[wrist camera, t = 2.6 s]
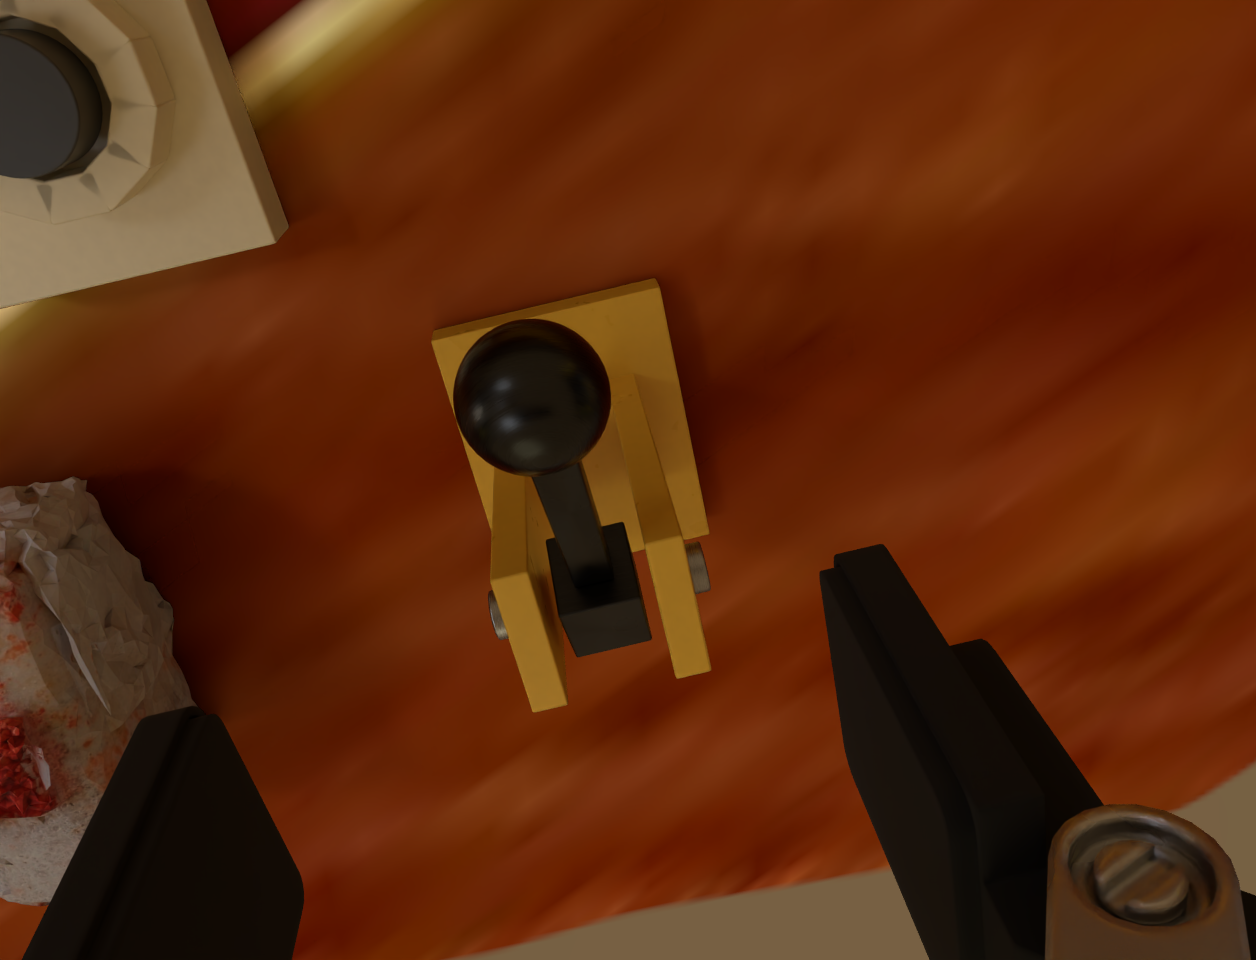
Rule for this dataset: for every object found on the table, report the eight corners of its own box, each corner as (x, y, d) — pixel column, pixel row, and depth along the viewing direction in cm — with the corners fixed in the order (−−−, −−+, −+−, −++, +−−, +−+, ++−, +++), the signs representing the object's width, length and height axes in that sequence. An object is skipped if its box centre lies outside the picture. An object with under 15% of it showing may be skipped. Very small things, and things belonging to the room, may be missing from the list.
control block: (-160, -81, 29) (-255, -87, 25) (150, -155, 29) (99, -172, 25) (25, 290, 34) (-32, 328, 30) (289, 227, 34) (264, 258, 30)
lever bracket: (433, 330, 36) (397, 499, 25) (655, 277, 36) (722, 422, 25) (507, 566, 41) (506, 801, 29) (704, 519, 41) (780, 736, 29)
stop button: (-64, 45, 27) (-100, 50, 26) (67, 14, 27) (40, 17, 26) (1, 180, 29) (-28, 192, 27) (125, 151, 29) (103, 161, 27)
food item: (-107, 494, 37) (-301, 661, 28) (107, 437, 37) (-20, 587, 28) (76, 772, 43) (-36, 980, 34) (260, 725, 43) (195, 921, 34)
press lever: (426, 306, 20) (441, 434, 19) (583, 269, 20) (612, 394, 19) (544, 576, 31) (561, 676, 29) (649, 551, 31) (672, 649, 29)
